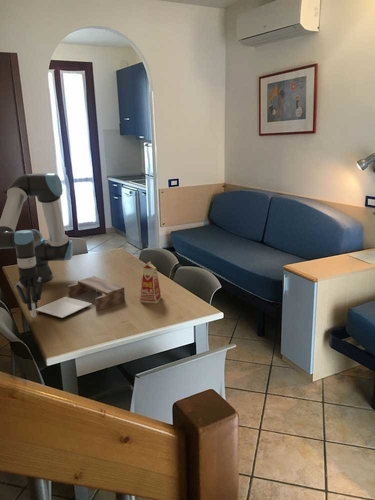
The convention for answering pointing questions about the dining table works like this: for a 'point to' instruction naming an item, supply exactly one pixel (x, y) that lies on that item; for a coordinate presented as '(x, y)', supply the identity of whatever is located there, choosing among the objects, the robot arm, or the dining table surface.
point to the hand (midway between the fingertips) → (33, 316)
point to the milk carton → (150, 285)
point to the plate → (63, 307)
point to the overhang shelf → (99, 291)
